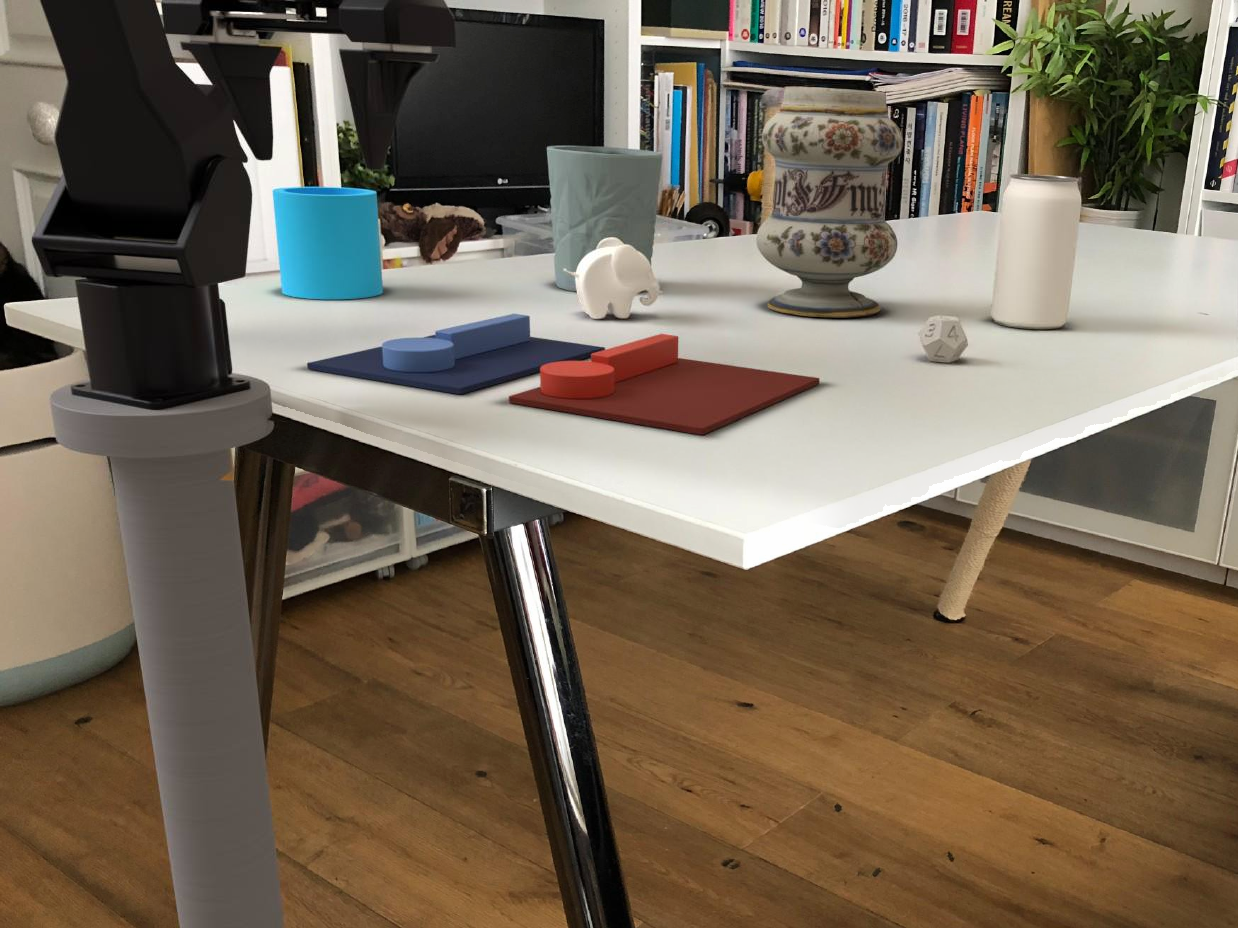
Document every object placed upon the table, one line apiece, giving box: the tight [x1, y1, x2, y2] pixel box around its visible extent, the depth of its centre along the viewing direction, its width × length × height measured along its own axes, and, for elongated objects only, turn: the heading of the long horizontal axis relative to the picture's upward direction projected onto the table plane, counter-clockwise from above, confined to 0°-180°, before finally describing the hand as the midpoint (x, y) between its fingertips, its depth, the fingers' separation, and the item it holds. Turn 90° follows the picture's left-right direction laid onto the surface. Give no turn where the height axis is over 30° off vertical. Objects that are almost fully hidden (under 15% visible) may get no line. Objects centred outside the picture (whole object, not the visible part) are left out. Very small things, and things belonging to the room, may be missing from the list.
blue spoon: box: [381, 313, 531, 373], centre depth 87 cm, size 13×4×2 cm, turn 155°
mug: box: [272, 186, 384, 300], centre depth 111 cm, size 12×8×8 cm
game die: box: [918, 315, 969, 364], centre depth 95 cm, size 4×4×3 cm
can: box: [990, 173, 1082, 330], centre depth 110 cm, size 6×6×12 cm
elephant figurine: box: [563, 237, 664, 320], centre depth 105 cm, size 7×8×6 cm
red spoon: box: [539, 333, 679, 399], centre depth 82 cm, size 13×4×2 cm, turn 155°
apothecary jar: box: [755, 85, 904, 319], centre depth 111 cm, size 12×12×18 cm
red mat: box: [508, 357, 820, 436], centre depth 81 cm, size 16×13×1 cm
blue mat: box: [306, 334, 606, 395], centre depth 87 cm, size 16×12×1 cm
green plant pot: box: [546, 145, 663, 292], centre depth 118 cm, size 10×10×12 cm
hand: (318, 165), depth 84 cm, fingers open, 9 cm apart
